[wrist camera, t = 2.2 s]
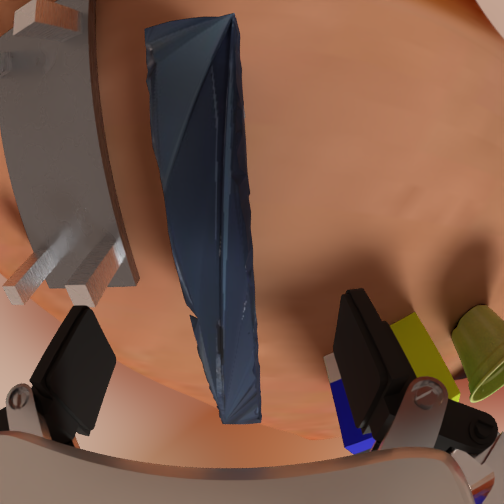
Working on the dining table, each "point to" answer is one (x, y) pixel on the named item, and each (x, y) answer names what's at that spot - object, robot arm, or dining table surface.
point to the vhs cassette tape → (208, 198)
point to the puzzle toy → (422, 362)
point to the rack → (60, 155)
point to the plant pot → (481, 350)
